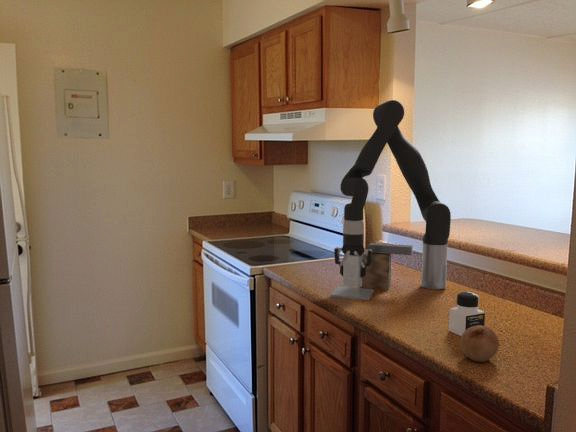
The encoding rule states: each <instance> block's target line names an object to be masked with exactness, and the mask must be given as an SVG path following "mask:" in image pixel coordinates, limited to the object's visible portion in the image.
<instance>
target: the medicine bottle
mask: <svg viewBox="0 0 576 432" xmlns="http://www.w3.org/2000/svg"><path fill="white" fill-rule="evenodd" d="M456 295H457V296H456V307H450V308H449V323H448V324H449V325H448V331H449V332H451V333H453V334H455V335H457V336H459V337H461V336H462V334H463V333H464V331H465V330H467V329H468V328H470V327H471V326H477V325H481V326H485V324H486V323H485V320H486V318H485V317H486V312H485V311H484V310H482V309H479V303H480V302H479V301H480V296H479V294H476V293H474V292H470V291H462V292H459V293H458V294H456Z"/></svg>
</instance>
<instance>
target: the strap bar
mask: <svg viewBox="0 0 576 432" xmlns="http://www.w3.org/2000/svg"><path fill="white" fill-rule="evenodd" d="M413 247H414V246H413V244H411V245H409V244H396V243H395V244H393V243H377V242H370V243H369V244H368V250H370V249H372V253H384V254H391V255H400V256H401V255H402V256H403V255H405V256H412V255H413V251H414V250H413Z"/></svg>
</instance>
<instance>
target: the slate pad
mask: <svg viewBox="0 0 576 432" xmlns="http://www.w3.org/2000/svg"><path fill="white" fill-rule="evenodd" d="M374 292H375V289H364V288H360V287H359V288H352V287H345V286H336V288H335V289H334V290H333V291H332V292H331V293H330V294H329V295H330V296H329V297H330V298H339V299H340V298H341V299H350V300H364V301H369V300H370V299H371V297H372V295H373V294H374Z"/></svg>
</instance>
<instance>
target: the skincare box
mask: <svg viewBox="0 0 576 432" xmlns="http://www.w3.org/2000/svg"><path fill="white" fill-rule="evenodd" d="M344 256H345V255H344V254H343V257H342V259H343V258H344ZM362 256H363V255H361V259H362ZM361 267H362V266H361V264H360V263H359V256H355V255H349V256H348V257H347V259H346V261H343V276H342V287H351V288H360V287H361V286H362V277H361Z"/></svg>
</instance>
